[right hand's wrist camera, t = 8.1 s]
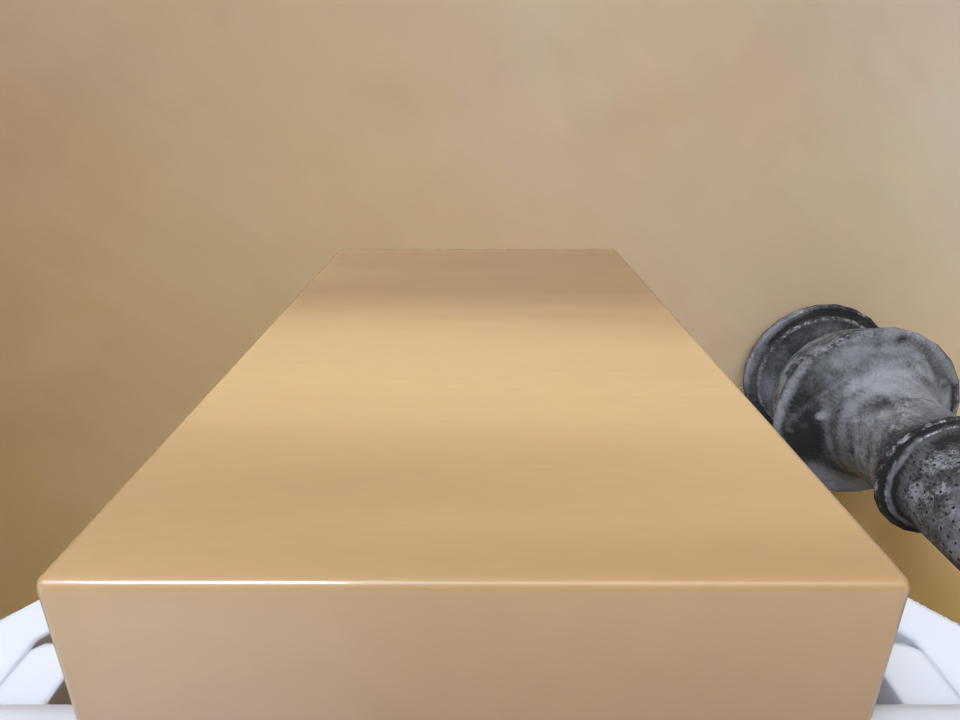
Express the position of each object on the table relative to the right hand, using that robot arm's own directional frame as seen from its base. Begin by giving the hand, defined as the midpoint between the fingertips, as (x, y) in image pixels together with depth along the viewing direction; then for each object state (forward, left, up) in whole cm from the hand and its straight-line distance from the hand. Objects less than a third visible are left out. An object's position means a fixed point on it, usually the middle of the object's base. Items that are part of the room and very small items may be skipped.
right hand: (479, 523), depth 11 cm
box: (+10, 0, -5) cm, 11 cm away
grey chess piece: (+3, +13, -14) cm, 19 cm away
